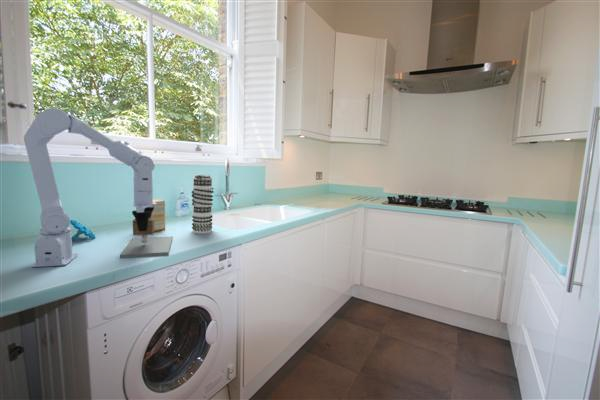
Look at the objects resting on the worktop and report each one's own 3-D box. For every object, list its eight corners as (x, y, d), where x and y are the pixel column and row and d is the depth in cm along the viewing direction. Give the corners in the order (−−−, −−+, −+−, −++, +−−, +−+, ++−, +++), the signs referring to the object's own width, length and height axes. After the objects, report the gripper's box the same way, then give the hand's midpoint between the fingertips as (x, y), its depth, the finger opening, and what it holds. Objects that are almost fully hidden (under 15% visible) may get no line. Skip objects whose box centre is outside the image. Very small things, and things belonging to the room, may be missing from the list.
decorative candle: (217, 231, 130) (217, 175, 126) (197, 234, 123) (197, 175, 119) (206, 227, 136) (207, 174, 132) (187, 230, 129) (187, 174, 126)
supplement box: (159, 227, 131) (158, 199, 129) (165, 229, 129) (165, 200, 127) (141, 231, 124) (140, 200, 122) (147, 233, 121) (147, 202, 120)
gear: (94, 237, 106) (70, 219, 102) (80, 250, 104) (55, 231, 101) (99, 234, 116) (77, 217, 112) (86, 245, 114) (63, 228, 110)
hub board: (168, 255, 97) (168, 240, 96) (119, 257, 92) (119, 242, 91) (172, 238, 115) (172, 226, 114) (132, 240, 110) (132, 227, 110)
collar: (152, 234, 101) (152, 220, 100) (133, 235, 99) (132, 220, 98) (154, 230, 106) (154, 217, 105) (135, 231, 104) (135, 217, 103)
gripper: (153, 193, 95) (154, 233, 97) (158, 188, 108) (159, 224, 110) (128, 193, 92) (129, 234, 94) (137, 188, 106) (138, 224, 108)
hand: (144, 229), depth 102 cm, fingers closed on collar, 5 cm apart
